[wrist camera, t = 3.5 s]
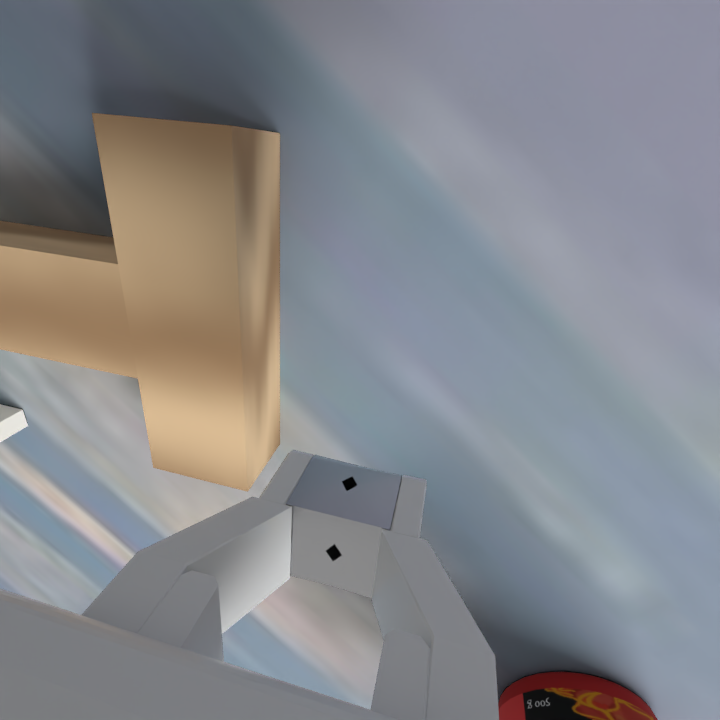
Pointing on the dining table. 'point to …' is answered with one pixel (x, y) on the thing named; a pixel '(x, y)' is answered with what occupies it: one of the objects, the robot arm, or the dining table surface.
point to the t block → (168, 290)
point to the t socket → (11, 421)
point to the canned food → (570, 699)
